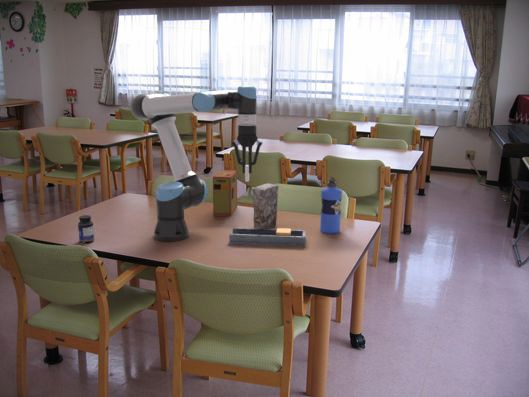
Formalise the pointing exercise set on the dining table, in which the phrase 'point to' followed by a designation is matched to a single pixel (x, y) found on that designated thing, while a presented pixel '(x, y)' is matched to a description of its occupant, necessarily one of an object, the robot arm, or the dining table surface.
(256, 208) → the stone block
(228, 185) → the box
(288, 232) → the block
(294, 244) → the chute
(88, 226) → the pill bottle
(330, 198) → the water bottle
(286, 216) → the dining table surface
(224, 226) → the dining table surface
